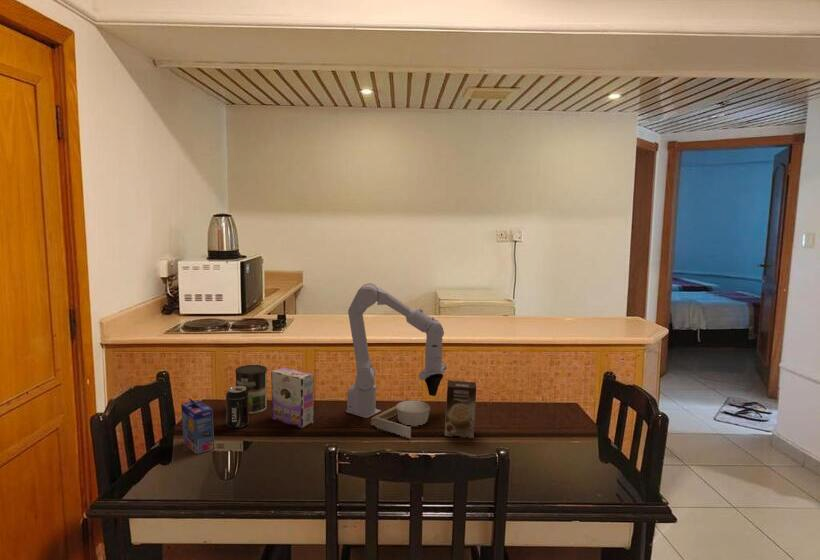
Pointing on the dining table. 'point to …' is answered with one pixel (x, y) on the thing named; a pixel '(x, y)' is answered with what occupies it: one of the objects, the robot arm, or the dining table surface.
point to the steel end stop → (393, 427)
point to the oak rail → (385, 415)
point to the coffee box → (460, 409)
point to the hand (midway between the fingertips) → (432, 395)
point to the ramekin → (413, 412)
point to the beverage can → (237, 407)
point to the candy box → (292, 397)
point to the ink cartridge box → (197, 426)
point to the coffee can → (254, 385)
